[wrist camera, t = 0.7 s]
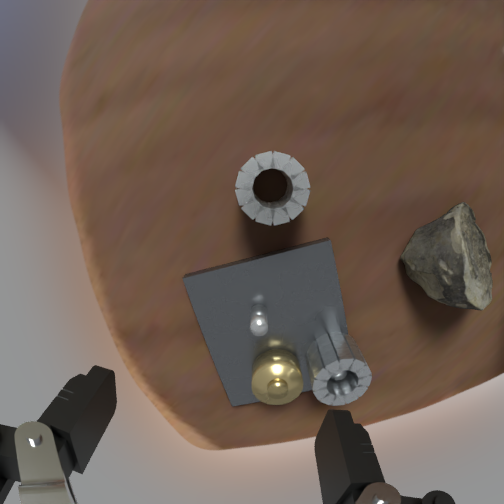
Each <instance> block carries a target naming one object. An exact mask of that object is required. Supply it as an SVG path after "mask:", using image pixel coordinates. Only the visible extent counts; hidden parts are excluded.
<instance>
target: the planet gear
mask: <svg viewBox="0 0 504 504" xmlns="http://www.w3.org/2000/svg"><path fill="white" fill-rule="evenodd" d="M255 158H256V160H255V159H254V158H253V157H252V158H251V159H250V160H249V161H248V162H247V163H246V164H245V165H244V166H243V167H242V168H241V169H242V170H243V171H239V174H238V178H237V181H236V185H235V187H236V188H237V189H236V190H235V192H236V195H237V199H238V202H239V206H241V205H242V207H241V209H242V210H243V211H244V212H245V213H246V214H247V215H248V216H249V217H250V218H251V219H252V220H253V219H254V218H255V217H256V218H255V222H259V223H263V224H267V225H270V226H271V225H272V221H273V223H274V226H275V225H279V224H283V223H287V222H290V219H289V217H290V218H291V219H292V220H293V219H294V218H295V217H296V216H297V215H298V214H299V213H300V212H301V211H303V210H304V208H303V207H302V206H301V205H303V206H306V204H307V200H308V197H309V193H310V190H308V189H307V188H310V184H309V180H308V176H307V173H306V172H304V171H303V170H304V168H303V167H302V166H301V165H300V164H299V163H298V162H297V161H296V160H295V159H294V158H293V157H292V158H290V155H287V154H283V153H279V152H276V151H274V152H273V153H272V152H271V151H270V152H266V153H262V154H258V155H255ZM270 168H272V169H275V170H279V171H280V172H281V173H282V174H283V175H284V176H285V178H286V182H287V189H286V192H285V195H284V196H282V197H281V198H280V199H279V200H277V201H274V202H267V201H263V200H261V199H260V198H259V197H258V196H257V195H256V194H255V191H254V188H253V183H254V179H255V177H256V176H257V175H258V174H259V173H260V172H262V171H263V170H267V169H270Z"/></svg>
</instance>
